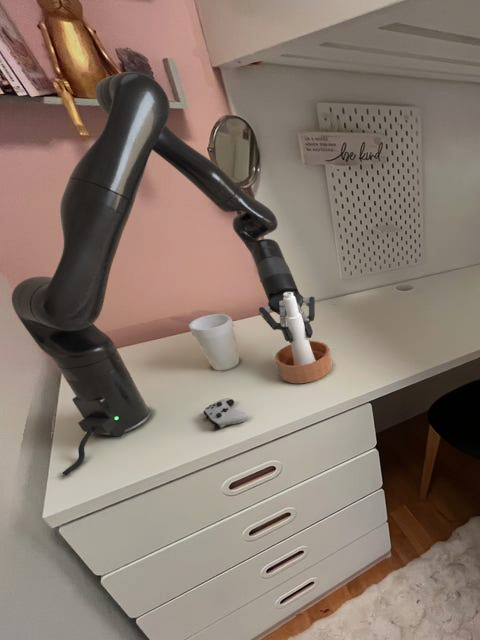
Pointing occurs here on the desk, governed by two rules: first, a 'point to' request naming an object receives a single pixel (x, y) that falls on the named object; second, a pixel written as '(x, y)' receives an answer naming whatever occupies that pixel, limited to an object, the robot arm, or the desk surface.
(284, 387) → the desk surface
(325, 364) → the bowl
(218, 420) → the game controller
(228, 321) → the foam cup
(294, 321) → the cosmetic bottle
